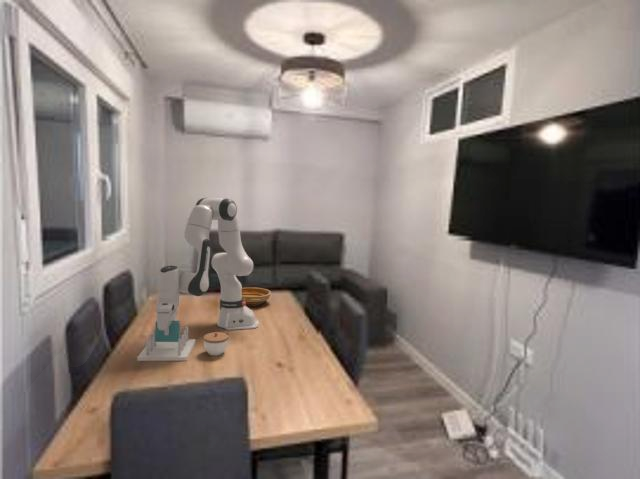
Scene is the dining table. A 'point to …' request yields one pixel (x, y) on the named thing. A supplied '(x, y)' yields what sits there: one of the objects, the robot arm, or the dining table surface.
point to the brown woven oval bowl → (255, 295)
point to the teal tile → (173, 333)
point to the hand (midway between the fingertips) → (168, 333)
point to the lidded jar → (215, 343)
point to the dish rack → (167, 349)
